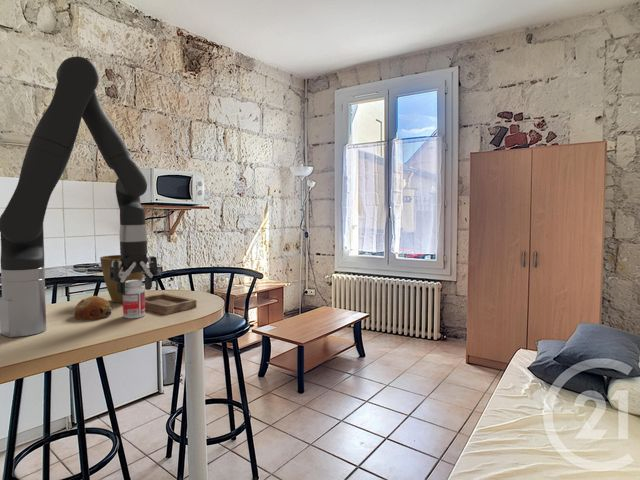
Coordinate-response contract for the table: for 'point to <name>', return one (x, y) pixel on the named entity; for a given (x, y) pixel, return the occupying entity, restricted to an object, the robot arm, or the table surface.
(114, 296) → the plant pot
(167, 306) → the shallow rectangular tray
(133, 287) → the pill bottle
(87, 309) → the bread roll
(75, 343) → the table surface
